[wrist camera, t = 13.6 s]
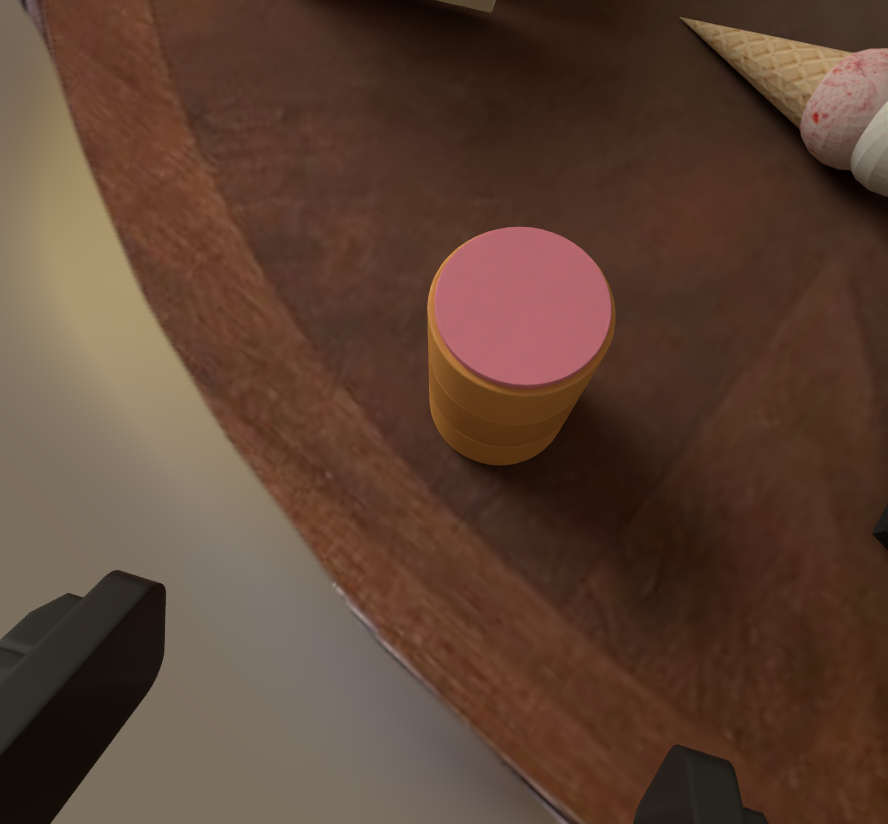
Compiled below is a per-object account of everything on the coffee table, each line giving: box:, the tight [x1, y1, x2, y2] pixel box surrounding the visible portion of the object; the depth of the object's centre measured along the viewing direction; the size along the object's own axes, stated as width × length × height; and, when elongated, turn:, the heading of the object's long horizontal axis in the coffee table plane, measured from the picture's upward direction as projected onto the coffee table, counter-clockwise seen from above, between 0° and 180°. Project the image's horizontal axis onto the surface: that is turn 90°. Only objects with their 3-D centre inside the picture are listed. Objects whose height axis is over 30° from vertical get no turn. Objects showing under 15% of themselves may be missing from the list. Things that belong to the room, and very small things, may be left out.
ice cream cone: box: [679, 17, 888, 197], centre depth 30 cm, size 5×5×15 cm
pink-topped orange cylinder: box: [427, 227, 615, 465], centre depth 23 cm, size 5×5×8 cm
